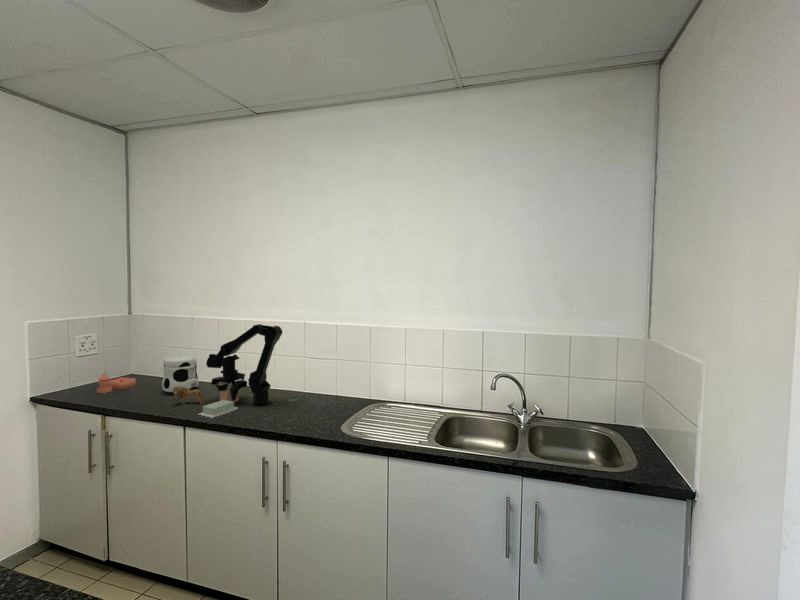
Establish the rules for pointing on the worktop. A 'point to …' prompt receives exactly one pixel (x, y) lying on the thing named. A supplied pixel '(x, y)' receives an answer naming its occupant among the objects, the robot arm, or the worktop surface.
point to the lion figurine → (187, 394)
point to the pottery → (114, 383)
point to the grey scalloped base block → (218, 408)
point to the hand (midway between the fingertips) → (229, 399)
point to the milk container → (180, 373)
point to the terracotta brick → (228, 395)
